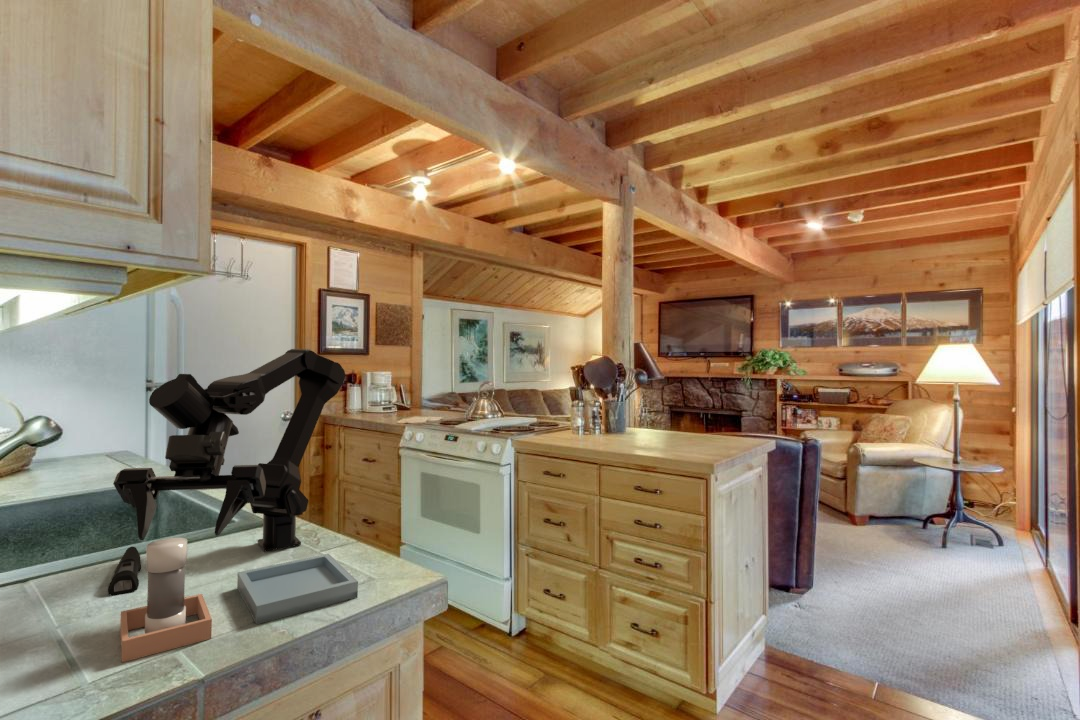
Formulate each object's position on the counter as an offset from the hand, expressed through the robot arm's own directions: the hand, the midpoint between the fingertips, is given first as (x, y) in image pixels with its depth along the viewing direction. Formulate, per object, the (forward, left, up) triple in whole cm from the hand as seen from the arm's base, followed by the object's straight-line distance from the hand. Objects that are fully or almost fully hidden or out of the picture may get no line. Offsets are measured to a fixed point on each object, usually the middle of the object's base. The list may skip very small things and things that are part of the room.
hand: (179, 536), depth 75 cm
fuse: (+4, -2, -11) cm, 12 cm away
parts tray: (+1, +15, -11) cm, 19 cm away
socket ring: (+4, -2, -11) cm, 12 cm away
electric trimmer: (-21, -5, -12) cm, 24 cm away
